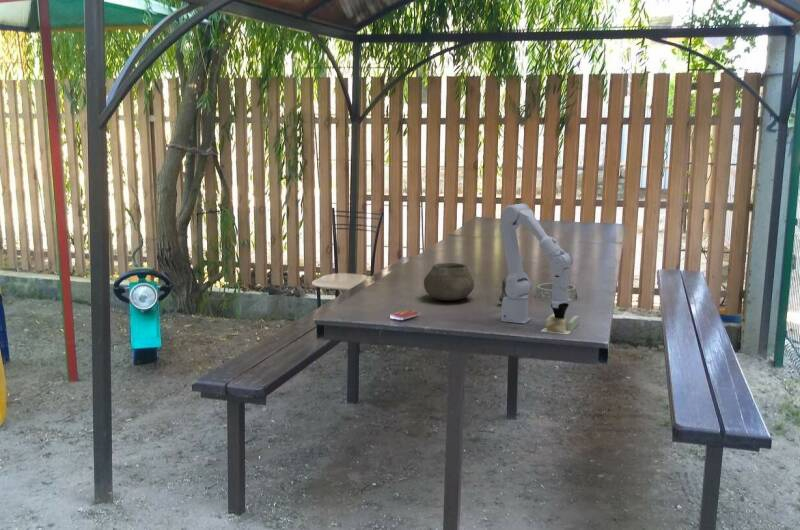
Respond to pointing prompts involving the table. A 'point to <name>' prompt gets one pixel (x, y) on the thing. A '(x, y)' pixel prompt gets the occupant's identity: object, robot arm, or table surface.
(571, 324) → the rails
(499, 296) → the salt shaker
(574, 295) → the dog bowl
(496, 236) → the table surface
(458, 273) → the clay pot
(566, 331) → the mat
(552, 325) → the birch block
